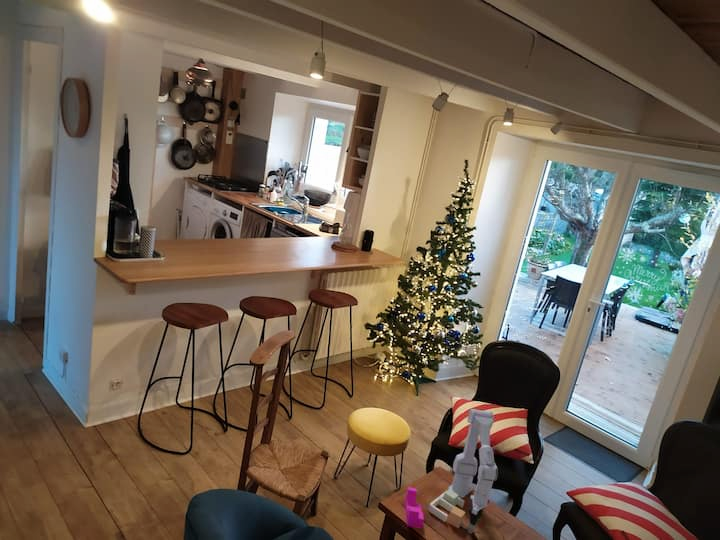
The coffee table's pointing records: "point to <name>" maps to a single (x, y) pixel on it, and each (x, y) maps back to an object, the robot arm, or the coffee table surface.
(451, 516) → the handled block
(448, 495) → the green block
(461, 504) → the rack
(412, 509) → the toy block
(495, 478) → the robot arm
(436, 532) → the coffee table surface
